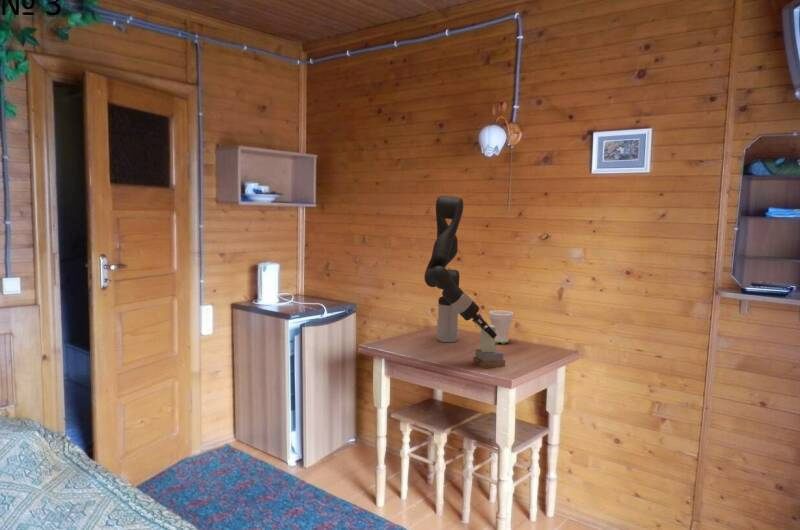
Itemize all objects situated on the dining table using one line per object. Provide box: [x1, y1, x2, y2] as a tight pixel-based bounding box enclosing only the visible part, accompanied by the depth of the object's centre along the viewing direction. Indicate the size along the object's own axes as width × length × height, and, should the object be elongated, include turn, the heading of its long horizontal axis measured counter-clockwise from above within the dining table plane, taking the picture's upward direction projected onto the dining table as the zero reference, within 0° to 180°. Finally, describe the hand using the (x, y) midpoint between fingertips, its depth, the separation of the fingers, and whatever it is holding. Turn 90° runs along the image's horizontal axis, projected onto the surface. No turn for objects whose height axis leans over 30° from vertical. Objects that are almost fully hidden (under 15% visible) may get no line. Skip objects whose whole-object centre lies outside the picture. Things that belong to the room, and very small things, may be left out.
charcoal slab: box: [474, 348, 504, 362], centre depth 230 cm, size 8×8×3 cm
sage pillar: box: [479, 324, 496, 352], centre depth 230 cm, size 5×5×10 cm
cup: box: [488, 309, 514, 345], centre depth 267 cm, size 11×11×14 cm
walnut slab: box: [472, 356, 506, 370], centre depth 231 cm, size 9×9×3 cm
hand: (492, 334), depth 230 cm, fingers open, 8 cm apart
